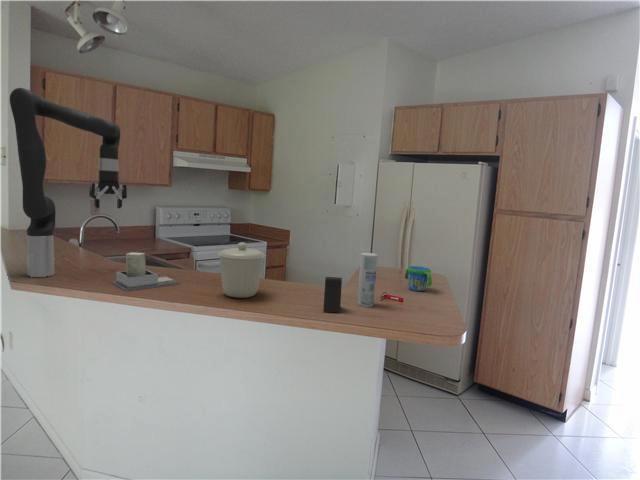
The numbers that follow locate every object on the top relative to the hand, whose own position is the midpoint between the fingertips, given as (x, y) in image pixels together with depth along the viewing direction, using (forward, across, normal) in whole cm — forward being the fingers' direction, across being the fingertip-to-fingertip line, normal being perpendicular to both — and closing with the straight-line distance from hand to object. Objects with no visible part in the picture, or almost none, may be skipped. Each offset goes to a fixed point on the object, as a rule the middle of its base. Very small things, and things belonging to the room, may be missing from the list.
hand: (108, 208), depth 181 cm
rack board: (+29, -8, +21) cm, 37 cm away
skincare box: (+29, -4, +21) cm, 36 cm away
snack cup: (+28, -105, +89) cm, 141 cm away
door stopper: (+29, -49, +88) cm, 105 cm away
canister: (+29, -32, +55) cm, 70 cm away
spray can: (+28, -65, +91) cm, 116 cm away
